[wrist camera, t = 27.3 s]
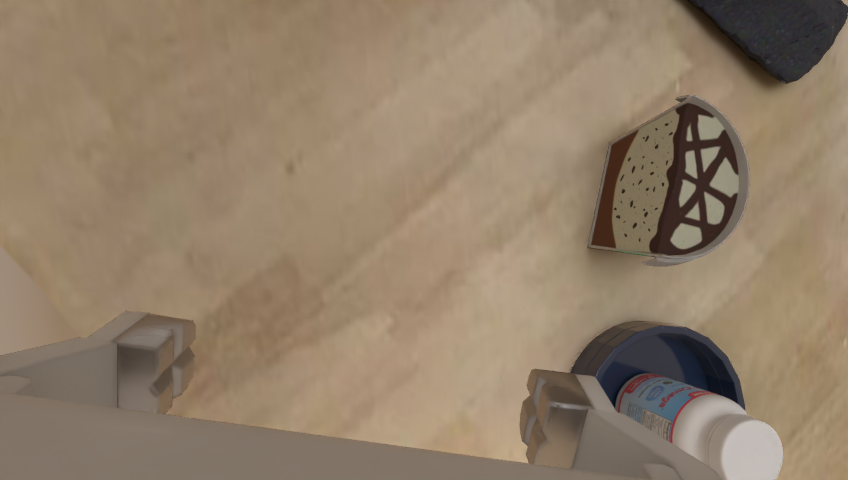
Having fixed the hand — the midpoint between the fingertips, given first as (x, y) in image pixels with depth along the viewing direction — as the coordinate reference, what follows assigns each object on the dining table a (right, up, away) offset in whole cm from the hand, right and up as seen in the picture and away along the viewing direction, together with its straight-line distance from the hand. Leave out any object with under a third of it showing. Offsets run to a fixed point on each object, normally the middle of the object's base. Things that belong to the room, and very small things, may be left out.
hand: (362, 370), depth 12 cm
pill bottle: (+20, -11, +31) cm, 39 cm away
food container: (+19, +6, +33) cm, 38 cm away
